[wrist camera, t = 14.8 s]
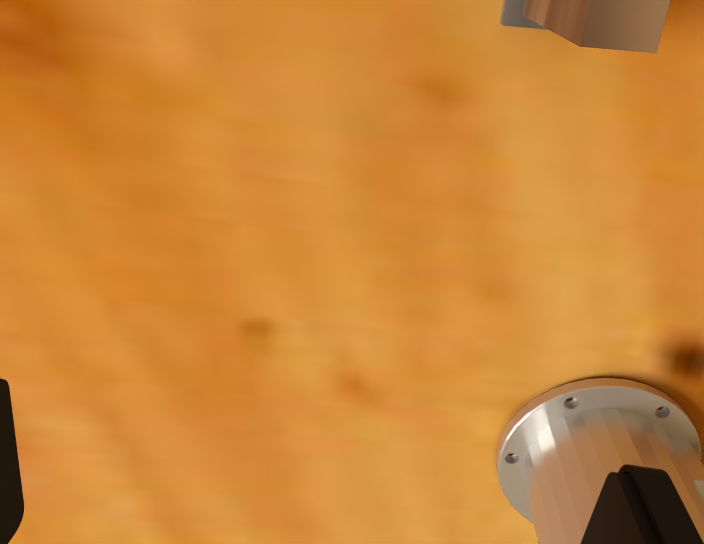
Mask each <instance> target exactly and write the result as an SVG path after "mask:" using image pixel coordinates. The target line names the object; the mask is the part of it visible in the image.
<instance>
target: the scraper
mask: <svg viewBox="0 0 704 544" xmlns="http://www.w3.org/2000/svg"><path fill="white" fill-rule="evenodd" d="M670 1H671V0H504V2H503V8H502V14H501V21H500V23H501V24H502V25H504V26H515V27H527V28H538V29H548V30H550V31H552V32H554V33H556V34H558V35H559V36H561V37H563V38H565V39H567V40H569V41H571V42H572V43H574V44H576V45H578V46H580V47H591V48H602V49H614V50H625V51H637V52H648V53H657V49H658V45H659V42H660V38H661V34H662V31H663V27H664V23H665V20H666V16H667V12H668V9H669V5H670Z"/></svg>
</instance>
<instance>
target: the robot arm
mask: <svg viewBox="0 0 704 544" xmlns="http://www.w3.org/2000/svg"><path fill="white" fill-rule="evenodd" d="M496 466H497V472H498V478H499V482H500V485H501V488H502V491H503V493H504V495H505V497H506V498H507V500H508V501H509V503H510V504H511V506H512V507H513V508H514V509H515V510H516V511H518V512H519V513H520V514H521V515H522V516H523V517H524V518H526V519H527V520H529V521H530V522H532V523H534V527H535V531H536V535H537V539H538V544H704V466H703V464H702V463H701V444H700V441H699V437H698V434H697V431H696V429H695V427H694V426H693V424H692V422H691V420H690V419H689V417H688V415H687V414H686V413H685V412H684V410H683V409H682V408H681V407H680V406H679V404H678V403H677V402H675V401H674V400H673V399H671V398H670V397H669V396H667V395H666V394H665V393H663V392H661V391H659V390H657V389H655V388H653V387H651V386H649V385H646V384H643V383H639V382H635V381H631V380H626V379H616V378H597V379H586V380H581V381H576V382H572V383H568V384H565V385H562V386H560V387H557V388H554V389H551V390H549V391H547V392H546V393H544V394H542V395H540V396H538V397H537V398H535V399H533V400H532V401H531V402H529V403H528V404H527V405H526V406H525V407H523V408H522V409H521V410H520V411H519V412H518V413H517V414H516V415H515V416H514V417H513V419H512V420H511V421H510V422H509V423H508V425H507V427H506V429H505V430H504V432H503V434H502V436H501V438H500V442H499V445H498V449H497V459H496ZM23 513H24V500H23V493H22V485H21V477H20V469H19V461H18V453H17V445H16V437H15V429H14V421H13V413H12V405H11V398H10V390H9V385H8V382H7V381H6V380H4V379H0V544H8V543H9V541H10V540H11V538H12V537H13V536H14V534H15V533H16V531H17V529H18V528H19V525H20V523H21V521H22V517H23Z"/></svg>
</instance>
